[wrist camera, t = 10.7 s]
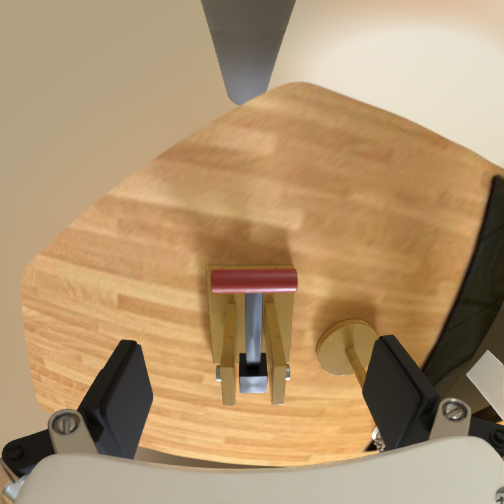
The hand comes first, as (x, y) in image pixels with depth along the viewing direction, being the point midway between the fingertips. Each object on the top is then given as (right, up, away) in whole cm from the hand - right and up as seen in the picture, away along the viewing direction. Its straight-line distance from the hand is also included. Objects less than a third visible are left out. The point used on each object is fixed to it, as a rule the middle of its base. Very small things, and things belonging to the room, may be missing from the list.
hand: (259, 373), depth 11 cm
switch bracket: (0, -2, +22) cm, 22 cm away
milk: (+42, -16, +27) cm, 52 cm away
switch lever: (0, -1, +11) cm, 11 cm away
